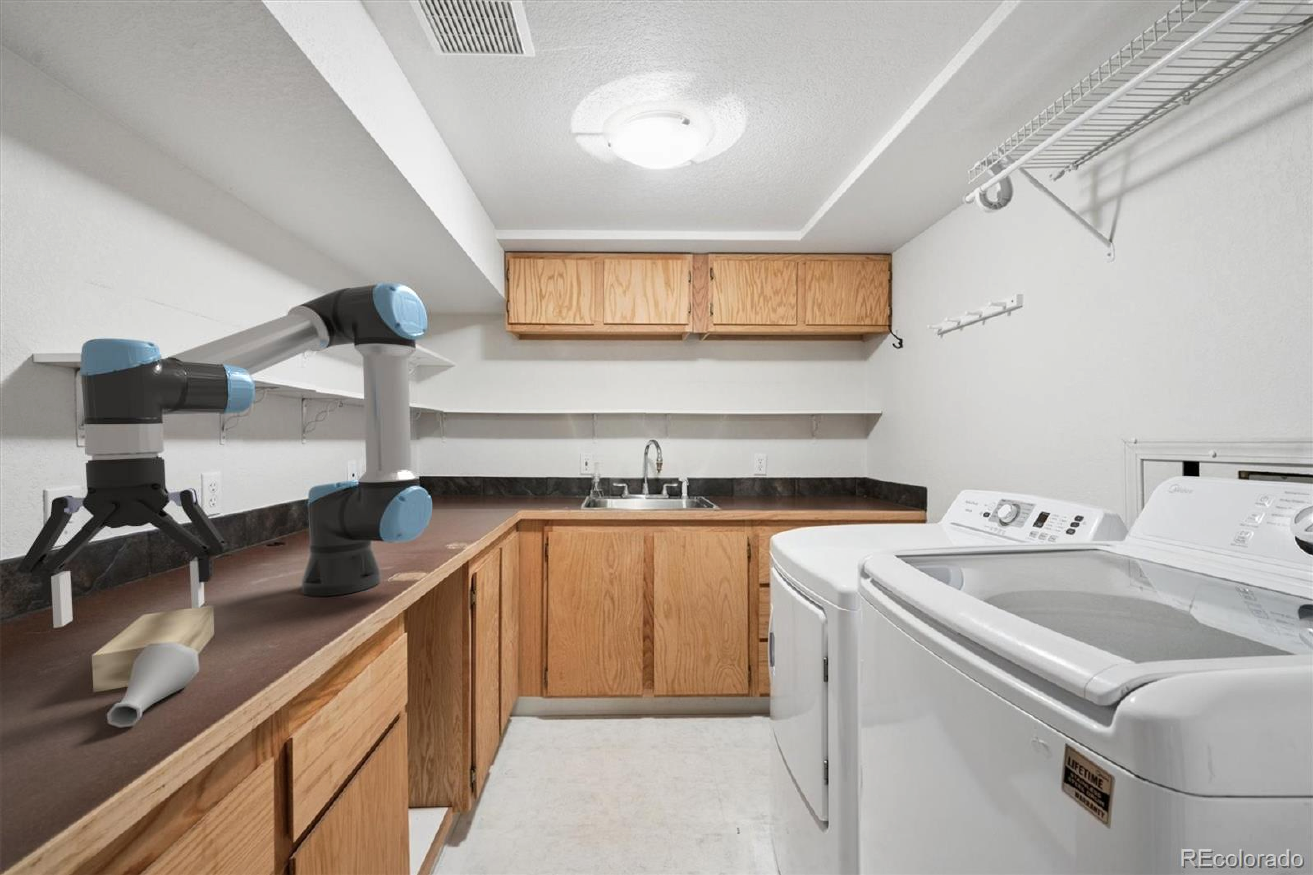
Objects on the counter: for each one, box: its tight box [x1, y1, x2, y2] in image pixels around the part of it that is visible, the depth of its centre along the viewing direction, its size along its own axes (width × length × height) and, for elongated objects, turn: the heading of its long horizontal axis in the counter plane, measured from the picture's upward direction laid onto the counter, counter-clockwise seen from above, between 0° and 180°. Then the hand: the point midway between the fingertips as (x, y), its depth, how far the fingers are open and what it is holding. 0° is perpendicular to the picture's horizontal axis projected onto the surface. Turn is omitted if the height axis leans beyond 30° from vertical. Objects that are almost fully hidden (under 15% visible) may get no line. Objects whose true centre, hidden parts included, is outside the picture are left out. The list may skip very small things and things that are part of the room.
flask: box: [106, 642, 200, 729], centre depth 68 cm, size 7×7×10 cm
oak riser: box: [91, 604, 215, 693], centre depth 83 cm, size 9×18×5 cm, turn 27°
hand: (133, 614), depth 73 cm, fingers open, 13 cm apart
